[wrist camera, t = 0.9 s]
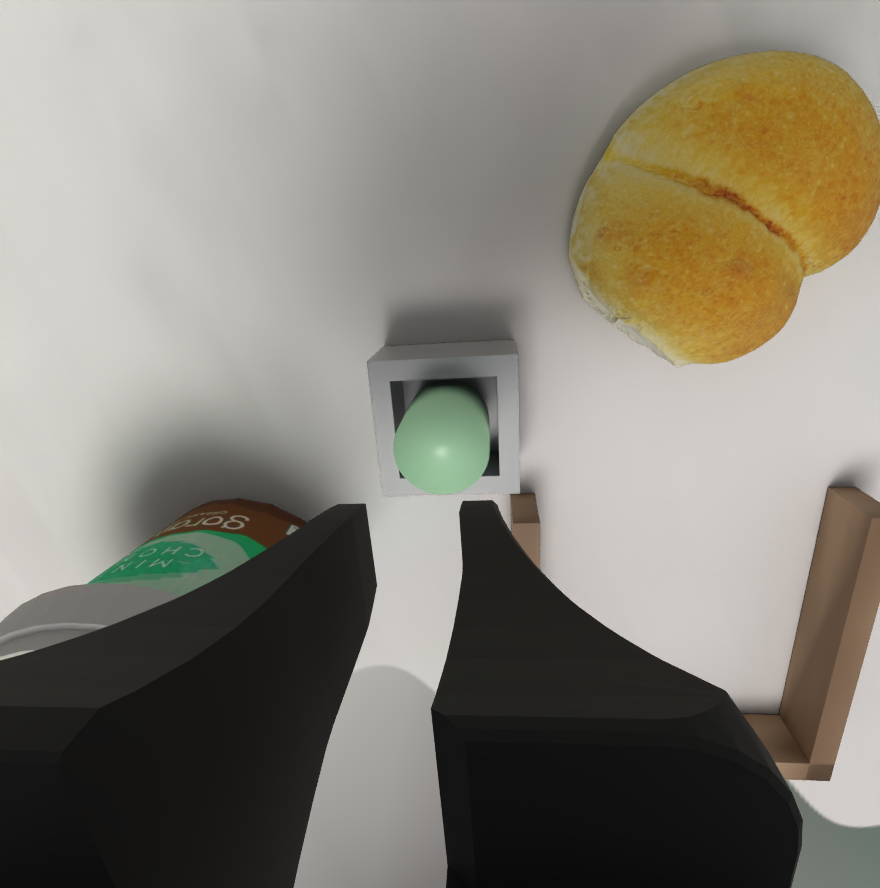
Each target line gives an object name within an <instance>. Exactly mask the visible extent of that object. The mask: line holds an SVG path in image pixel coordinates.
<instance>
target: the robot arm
mask: <svg viewBox="0 0 880 888" xmlns="http://www.w3.org/2000/svg"><path fill="white" fill-rule="evenodd" d="M459 516H460V531H461V545H462V560H463V574H462V580H461V587H460V594H459V600H458V606H457V611H456V617H455V622H454V628H453V632H452V636H451V641H450V645H449V650H448V654H447V658H446V662H445V665H444V669H443V672H442V675H441V679H440V682H439V686H438V689H437V692H436V696H435V698H434V701H433V704H432V707H431V714H432V723H433V732H434V742H435V751H436V760H437V769H438V779H439V789H440V798H441V807H442V817H443V826H444V835H445V845H446V854H447V864H448V868H447V883H446V888H791V886H792V882H793V878H794V874H795V870H796V866H797V862H798V858H799V854H800V851H801V845H802V824H803V820H802V817H801V814H800V812H799V809H798V807H797V804H796V802H795V799H794V797H793V794H792V792H791V790H790V789H789V787H788V785H787V783H786V781H785V780H784V778H783V776H782V774H781V772H780V771H779V769H778V767H777V765H776V763H775V762H774V760H773V758H772V757H771V755H770V753H769V752H768V750H767V749H766V747H765V746H764V744H763V743H762V741H761V740H760V738H759V737H758V735H757V734H756V732H755V731H754V729H753V728H752V727H751V725H750V724H749V723H748V721H747V720H746V718H745V717H744V716H743V714H742V713H741V712H740V710H739V709H738V707H737V706H736V705H735V703H734V702H733V700H732V699H731V698H730V696H729V695H728V693H727V692H726V691H725V690H723V689H721V688H719V687H717V686H715V685H713V684H710V683H708V682H706V681H704V680H702V679H700V678H698V677H696V676H694V675H692V674H690V673H688V672H686V671H683V670H681V669H679V668H677V667H675V666H673V665H671V664H669V663H667V662H665V661H663V660H661V659H659V658H657V657H655V656H653V655H652V654H650V653H648V652H646V651H645V650H643V649H641V648H640V647H638V646H636V645H635V644H633V643H631V642H629V641H628V640H626V639H624V638H623V637H621V636H620V635H618V634H616V633H615V632H613V631H612V630H610V629H609V628H607V627H606V626H604V625H603V624H601V623H600V622H599V621H597V620H596V619H595V618H593V617H592V616H591V615H589V614H588V613H586V612H585V611H584V610H582V609H581V608H580V607H578V606H577V605H576V604H575V603H573V602H572V601H571V600H570V599H569V598H568V597H567V596H565V595H564V594H563V593H562V592H561V591H560V590H559V589H558V588H557V587H556V586H555V585H554V584H553V583H552V582H551V581H550V580H549V579H548V578H547V577H546V576H545V575H544V574H543V573H542V572H541V570H540V569H539V568H538V567H537V566H536V565H535V564H534V562H533V561H532V560H531V559H530V558H529V556H528V555H527V554H526V553H525V551H524V550H523V549H522V547H521V546H520V544H519V543H518V542H517V540H516V539H515V537H514V536H513V535H512V533H511V531H510V530H509V528H508V527H507V525H506V523H505V521H504V520H503V518H502V516H501V514H500V511H499V509H498V505H497V504H496V503H495V502H494V501H493V500H485V501H463V502H462V505H461V508H460V512H459ZM376 587H377V582H376V574H375V567H374V560H373V553H372V546H371V539H370V531H369V524H368V517H367V510H366V504H338V505H336V506H333V507H331V508H330V509H328V510H326V511H325V512H323V513H321V514H320V515H318V516H317V517H315V518H314V519H312V520H311V521H309V522H308V523H306V524H305V525H303V526H302V527H300V528H299V529H297V530H296V531H294V532H293V533H291V534H290V535H288V536H286V537H285V538H283V539H282V540H280V541H279V542H277V543H276V544H274V545H273V546H271V547H269V548H268V549H266V550H264V551H263V552H261V553H260V554H258V555H256V556H255V557H253V558H251V559H250V560H248V561H246V562H245V563H243V564H241V565H240V566H238V567H236V568H235V569H233V570H231V571H229V572H227V573H226V574H224V575H222V576H220V577H218V578H216V579H214V580H213V581H211V582H209V583H207V584H205V585H203V586H201V587H199V588H196V589H194V590H192V591H190V592H188V593H186V594H184V595H182V596H180V597H178V598H176V599H173V600H171V601H169V602H166V603H164V604H162V605H159V606H157V607H154V608H152V609H149V610H147V611H145V612H142V613H140V614H137V615H135V616H132V617H130V618H128V619H125V620H123V621H120V622H118V623H115V624H112V625H110V626H107V627H104V628H101V629H99V630H96V631H93V632H90V633H87V634H84V635H82V636H79V637H76V638H73V639H70V640H66V641H63V642H60V643H57V644H54V645H51V646H48V647H45V648H42V649H38V650H35V651H32V652H28V653H25V654H22V655H18V656H14V657H11V658H7V659H3V660H0V888H293V887H294V883H295V877H296V873H297V868H298V864H299V859H300V855H301V850H302V846H303V842H304V838H305V833H306V829H307V824H308V820H309V816H310V811H311V807H312V802H313V799H314V794H315V791H316V787H317V783H318V778H319V775H320V771H321V767H322V763H323V759H324V755H325V751H326V747H327V744H328V740H329V737H330V734H331V731H332V728H333V724H334V722H335V719H336V716H337V713H338V710H339V708H340V705H341V702H342V699H343V697H344V694H345V691H346V688H347V686H348V683H349V680H350V677H351V674H352V672H353V669H354V666H355V663H356V661H357V658H358V655H359V652H360V649H361V646H362V644H363V641H364V638H365V635H366V632H367V629H368V626H369V622H370V617H371V613H372V608H373V603H374V598H375V593H376Z"/></svg>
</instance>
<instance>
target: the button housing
mask: <svg viewBox="0 0 880 888" xmlns="http://www.w3.org/2000/svg"><path fill="white" fill-rule="evenodd" d="M367 367H368V375H369V384H370V392H371V401H372V409H373V418H374V426H375V435H376V443H377V451H378V460H379V468H380V477H381V485H382V494H383V496H422V495H442V494H433V493H429V492H425V491H423V490H421V489H419V488H417V487H415V486H414V485H412V484H411V483H410V482H409V481H408V480H407V479H406V478H405V477H404V476H403V475H402V474H401V472H400V470H399V469H398V467H397V465H396V462H395V459H394V454H393V442H394V437H395V434H396V431H397V429H398V427H399V425H400V423H401V421H402V419H403V417H404V415H405V414H406V412H407V410H408V408H409V406H410V404H411V402H412V400H413V398H414V397H415V396H416V394H417V393H418V392H419V391H420V390H422V389H423V388H424V387H426V386H428V385H430V384H432V383H435V382H439V381H457V382H460V383H463V384H465V385H468V386H469V387H471V388H472V389H474V390H475V391H476V392H477V393H478V394H479V395H480V396H481V397H482V399H483V400H484V402H485V404H486V406H487V408H488V412H489V419H490V452H489V460H488V464H487V467H486V469H485V471H484V473H483V474H482V476H481V477H480V478H479V479H478V480H477V481H476V482H475V483H474V484H473V485H472V486H470V487H469V488H467V489H465V490H463V491H460V492H457V493H453V494H445V495H470V494H518V493H520V460H519V391H518V353H517V349H516V345H515V342H514V339H509V340H490V341H472V342H453V343H434V344H415V345H396V346H384V347H383V348H382V349H380V350H379V351H378V352H377V353H376V354H375V355H374V356H373V357H372V358H370V359H369V360H368V361H367Z"/></svg>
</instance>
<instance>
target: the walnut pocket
mask: <svg viewBox="0 0 880 888" xmlns="http://www.w3.org/2000/svg"><path fill="white" fill-rule="evenodd" d="M511 533H512V535H513V536H514V537H515V539H516V540H517V542H518V543H519V544H520V546H521V547H522V549H523V550H524V551H525V553H526V554H527V555H528V556H529V558H530V559H531V560H532V561H533V562H534V564H535V565H536V566H537V567H538V568H539V569H540V521H539V515H538V510H537V505H536V499H535V494H511ZM879 603H880V503H879V502H878V501H876V500H875V499H873V498H872V497H870V496H869V495H867V494H866V493H864V492H862V491H861V490H859V489H858V488H856V487H832V488H828V491H827V495H826V500H825V505H824V509H823V514H822V519H821V523H820V528H819V532H818V537H817V542H816V546H815V551H814V555H813V560H812V565H811V569H810V574H809V579H808V583H807V588H806V592H805V597H804V602H803V606H802V611H801V615H800V620H799V625H798V629H797V634H796V639H795V643H794V648H793V652H792V657H791V662H790V666H789V671H788V676H787V680H786V685H785V689H784V694H783V699H782V703H781V708H780V712H779V715H764V714H743V716H744V717H745V718H746V720H747V721H748V723H749V724H750V725H751V727H752V728H753V729H754V731H755V732H756V734H757V735H758V737H759V738H760V740H761V741H762V743H763V744H764V746H765V747H766V749H767V750H768V752H769V753H770V755H771V757H772V758H773V760H774V762H775V763H776V765H777V767H778V769H779V771H780V772H781V774H782V776H783V778H784V779H790V780H817V781H830V778H831V775H832V771H833V768H834V764H835V760H836V757H837V753H838V750H839V746H840V743H841V739H842V735H843V732H844V728H845V725H846V721H847V717H848V714H849V710H850V707H851V703H852V700H853V696H854V692H855V689H856V685H857V682H858V678H859V674H860V671H861V667H862V664H863V660H864V657H865V653H866V649H867V646H868V642H869V639H870V635H871V631H872V628H873V624H874V621H875V617H876V614H877V610H878V606H879Z"/></svg>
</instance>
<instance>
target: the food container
mask: <svg viewBox="0 0 880 888" xmlns="http://www.w3.org/2000/svg"><path fill="white" fill-rule="evenodd" d="M305 524H306V522H305V521H304V520H302V519H300V518H298V517H296V516H294V515H292V514H290V513H288V512H286V511H284V510H282V509H280V508H278V507H276V506H274V505H272V504H266V503H261V502H256V501H251V500H246V499H240V498H239V499H228V500H216V501H213V502H209V503H206V504H203V505H201V506H199V507H197V508H195V509H193V510H191V511H189V512H188V513H186V514H185V515H184V516H182V517H181V518H179V519H178V520H177V521H175V522H174V523H172V524H171V525H169V526H168V527H167V528H165V529H164V530H162V531H161V532H160V533H158V534H157V535H155V536H154V537H153V538H151V539H150V540H148V541H147V542H145V543H144V544H143V545H141V546H140V547H138V548H137V549H136V550H134V551H133V552H131V553H130V554H129V555H127V556H126V557H124V558H123V559H121V560H120V561H119V562H117V563H116V564H114V565H113V566H112V567H110V568H109V569H107V570H106V571H104V572H103V573H102V574H100V575H99V576H97V577H96V578H95V579H93V580H92V581H90V582H89V583H88V584H84V585H75V586H68V587H64V588H61V589H57V590H54V591H50V592H47V593H43V594H41V595H39V596H37V597H35V598H33V599H31V600H30V601H28V602H26V603H24V604H22V605H20V606H19V607H18V608H17V609H16V610H14V611H13V612H12V613H11V614H9V615H8V616H7V617H6V618H5V619H4V620H3V621H2V622H1V623H0V660H3V659H7V658H11V657H14V656H18V655H22V654H25V653H28V652H32V651H35V650H38V649H42V648H45V647H48V646H51V645H54V644H57V643H60V642H63V641H66V640H70V639H73V638H76V637H79V636H82V635H84V634H87V633H90V632H93V631H96V630H99V629H101V628H104V627H107V626H110V625H112V624H115V623H118V622H120V621H123V620H125V619H128V618H130V617H132V616H135V615H137V614H140V613H142V612H145V611H147V610H149V609H152V608H154V607H157V606H159V605H162V604H164V603H166V602H169V601H171V600H173V599H176V598H178V597H180V596H182V595H184V594H186V593H188V592H190V591H192V590H194V589H196V588H199V587H201V586H203V585H205V584H207V583H209V582H211V581H213V580H214V579H216V578H218V577H220V576H222V575H224V574H226V573H227V572H229V571H231V570H233V569H235V568H236V567H238V566H240V565H241V564H243V563H245V562H246V561H248V560H250V559H251V558H253V557H255V556H256V555H258V554H260V553H261V552H263V551H264V550H266V549H268V548H269V547H271V546H273V545H274V544H276V543H277V542H279V541H280V540H282V539H283V538H285V537H286V536H288V535H290V534H291V533H293V532H294V531H296V530H297V529H299V528H300V527H302V526H303V525H305Z"/></svg>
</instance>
